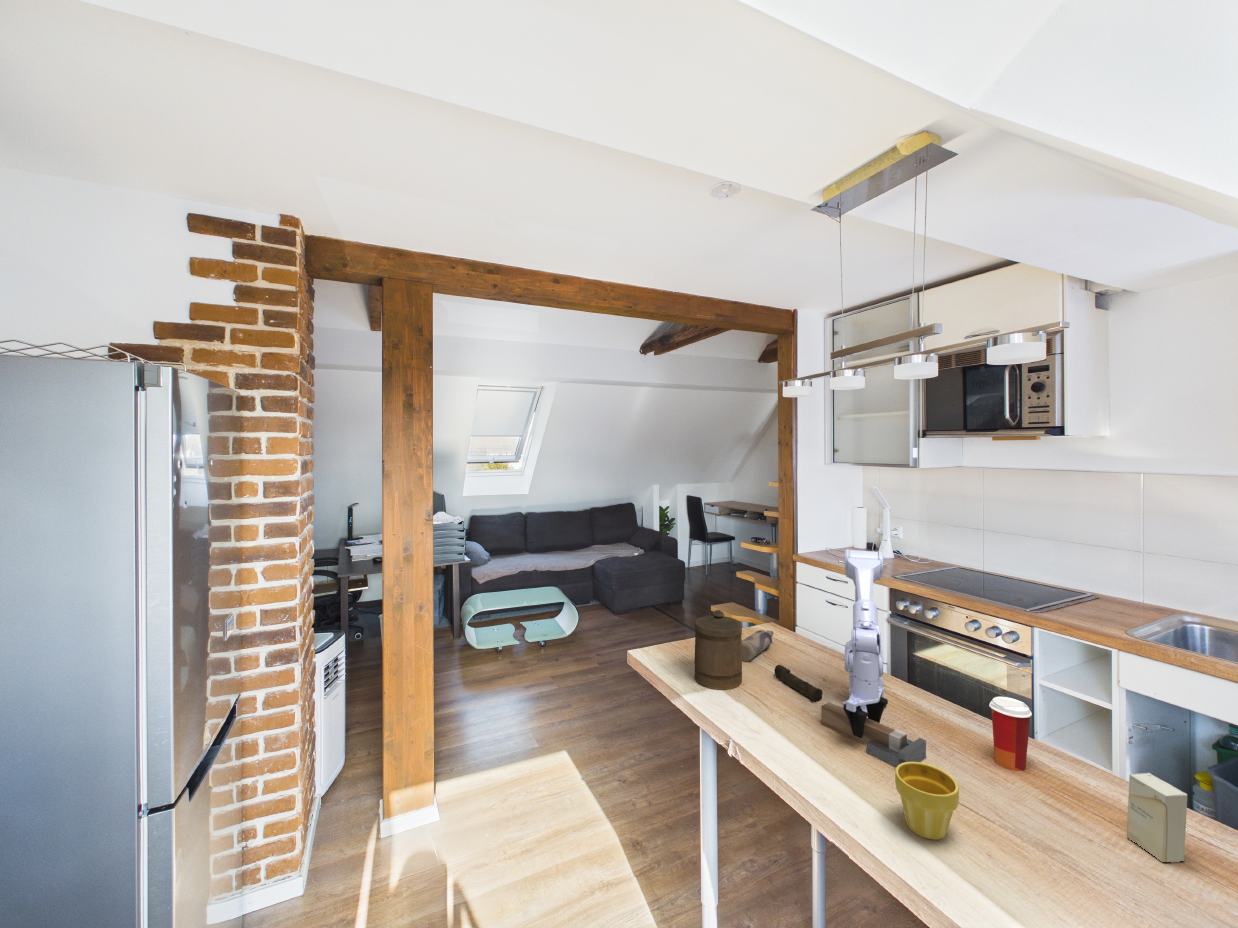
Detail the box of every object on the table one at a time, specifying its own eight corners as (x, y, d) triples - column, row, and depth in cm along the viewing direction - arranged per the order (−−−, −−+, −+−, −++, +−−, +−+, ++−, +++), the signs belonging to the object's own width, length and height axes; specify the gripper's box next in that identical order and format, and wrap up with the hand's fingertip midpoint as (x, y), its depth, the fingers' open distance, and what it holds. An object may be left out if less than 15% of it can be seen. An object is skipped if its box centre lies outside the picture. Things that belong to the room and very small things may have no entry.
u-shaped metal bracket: (887, 739, 127) (887, 724, 127) (926, 757, 120) (926, 740, 120) (866, 752, 122) (866, 735, 122) (905, 771, 115) (905, 754, 115)
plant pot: (933, 855, 91) (934, 801, 91) (883, 817, 100) (883, 768, 100) (971, 837, 95) (971, 785, 95) (919, 803, 104) (919, 755, 104)
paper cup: (1023, 757, 120) (1023, 698, 120) (1037, 776, 113) (1038, 713, 112) (983, 751, 122) (984, 693, 122) (995, 769, 115) (995, 708, 115)
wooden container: (748, 676, 165) (748, 608, 164) (732, 694, 152) (732, 621, 152) (705, 666, 173) (705, 601, 172) (686, 682, 160) (686, 613, 160)
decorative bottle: (753, 664, 174) (753, 645, 174) (732, 659, 179) (732, 640, 179) (782, 642, 194) (782, 625, 194) (763, 638, 199) (763, 621, 199)
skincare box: (1125, 837, 95) (1126, 772, 95) (1147, 835, 95) (1148, 771, 95) (1164, 864, 88) (1165, 795, 88) (1187, 862, 89) (1188, 793, 89)
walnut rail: (829, 720, 137) (829, 700, 137) (906, 755, 121) (906, 733, 121) (821, 724, 135) (821, 704, 135) (899, 760, 119) (899, 738, 119)
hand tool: (823, 701, 148) (823, 685, 148) (812, 704, 147) (812, 687, 147) (782, 675, 166) (782, 661, 166) (771, 677, 164) (771, 663, 164)
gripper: (865, 664, 135) (865, 715, 135) (834, 678, 126) (834, 733, 126) (892, 673, 129) (892, 726, 129) (862, 689, 120) (862, 746, 121)
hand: (865, 730), depth 127 cm, fingers open, 7 cm apart
